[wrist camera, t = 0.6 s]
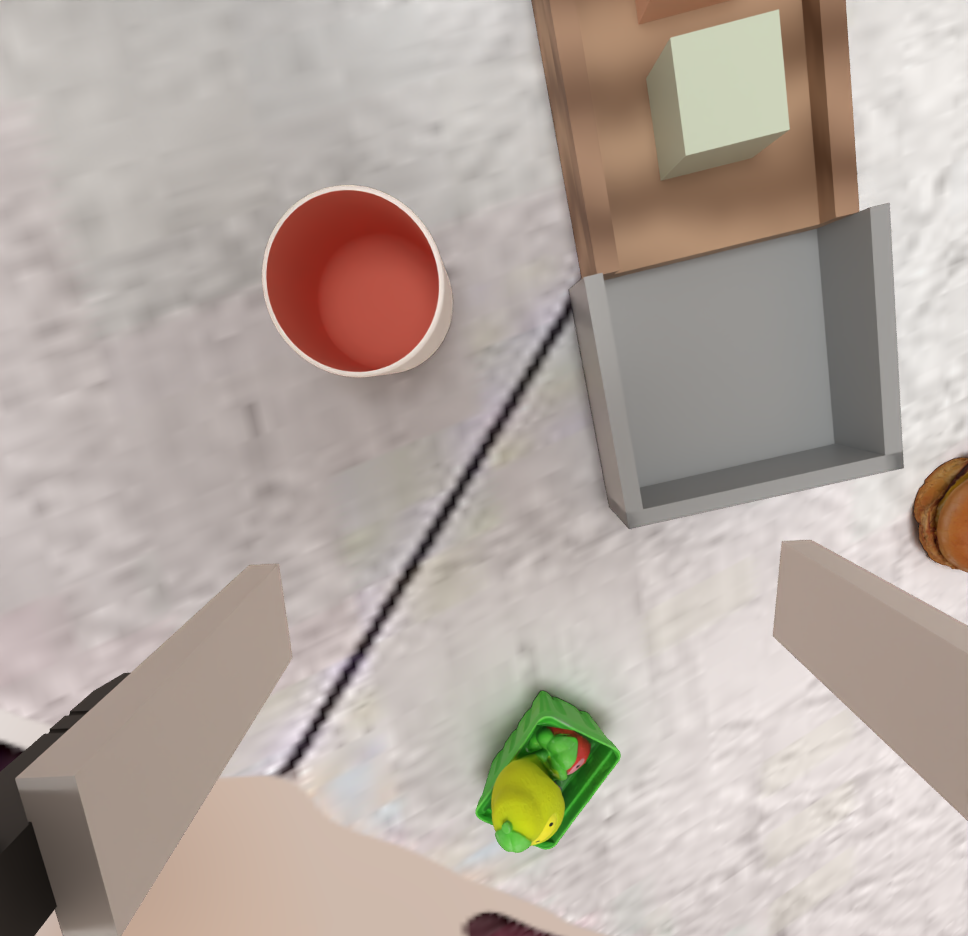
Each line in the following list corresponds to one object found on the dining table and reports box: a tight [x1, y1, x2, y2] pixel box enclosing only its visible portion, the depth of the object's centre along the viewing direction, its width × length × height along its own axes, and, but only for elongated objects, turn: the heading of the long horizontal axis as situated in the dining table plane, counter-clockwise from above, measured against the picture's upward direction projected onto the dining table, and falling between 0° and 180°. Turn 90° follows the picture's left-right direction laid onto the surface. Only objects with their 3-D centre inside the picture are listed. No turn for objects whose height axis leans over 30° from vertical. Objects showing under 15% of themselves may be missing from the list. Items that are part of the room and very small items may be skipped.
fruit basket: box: [476, 691, 621, 853], centre depth 39 cm, size 11×9×11 cm
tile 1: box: [646, 9, 790, 181], centre depth 30 cm, size 6×6×4 cm
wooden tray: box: [531, 0, 859, 280], centre depth 32 cm, size 22×17×4 cm
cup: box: [262, 185, 453, 377], centre depth 32 cm, size 10×10×10 cm
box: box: [569, 203, 904, 529], centre depth 35 cm, size 17×19×6 cm
